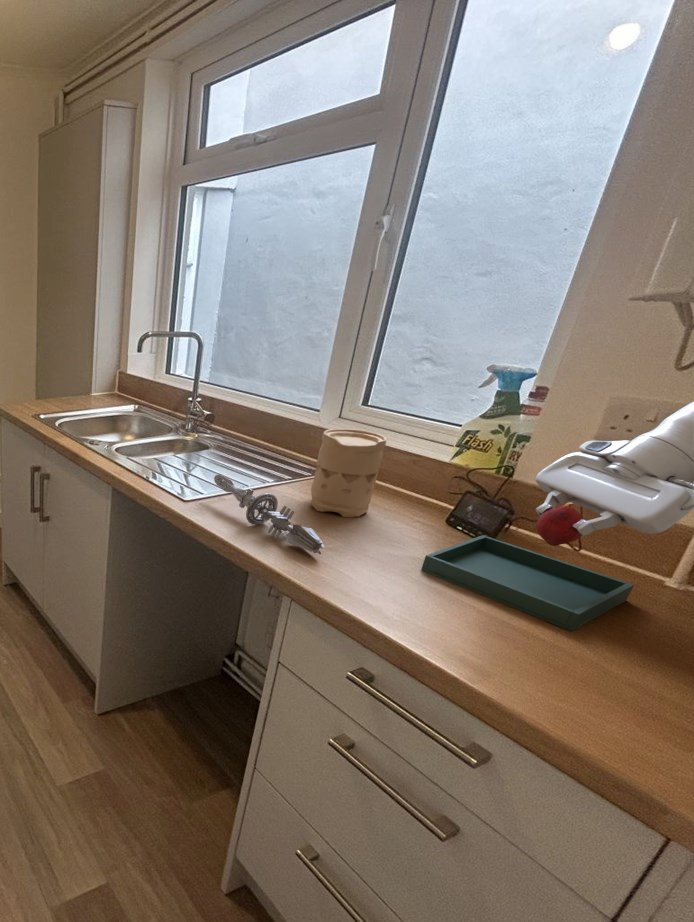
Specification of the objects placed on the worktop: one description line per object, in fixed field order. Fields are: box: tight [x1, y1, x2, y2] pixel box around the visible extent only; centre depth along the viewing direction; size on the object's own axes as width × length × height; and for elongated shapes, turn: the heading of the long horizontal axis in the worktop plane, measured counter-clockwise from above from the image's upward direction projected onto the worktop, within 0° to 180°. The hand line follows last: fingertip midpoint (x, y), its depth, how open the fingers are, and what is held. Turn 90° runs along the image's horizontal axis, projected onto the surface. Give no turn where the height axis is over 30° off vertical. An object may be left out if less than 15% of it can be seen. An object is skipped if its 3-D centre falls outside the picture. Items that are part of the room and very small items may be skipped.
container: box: [310, 428, 388, 518], centre depth 124 cm, size 13×13×18 cm
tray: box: [421, 534, 635, 632], centre depth 93 cm, size 22×20×3 cm
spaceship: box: [213, 474, 326, 555], centre depth 117 cm, size 8×35×8 cm
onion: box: [535, 502, 585, 547], centre depth 89 cm, size 6×6×8 cm
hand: (557, 522), depth 89 cm, fingers closed on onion, 6 cm apart
